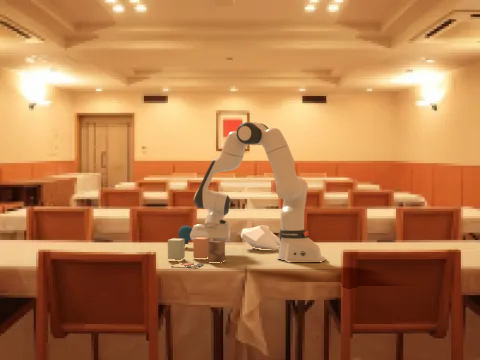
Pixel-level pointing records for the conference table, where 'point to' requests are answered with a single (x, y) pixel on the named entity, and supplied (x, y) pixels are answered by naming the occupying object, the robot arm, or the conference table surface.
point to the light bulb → (185, 233)
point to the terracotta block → (200, 247)
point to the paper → (260, 237)
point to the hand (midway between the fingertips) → (206, 247)
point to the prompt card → (191, 264)
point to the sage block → (176, 249)
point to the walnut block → (216, 251)
